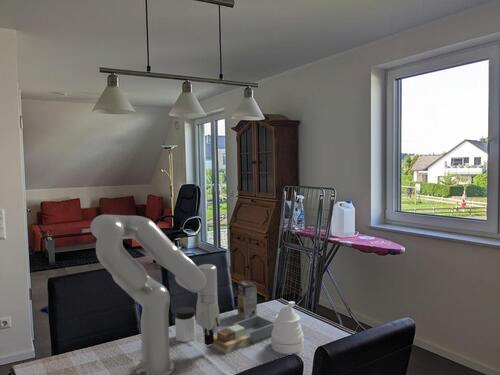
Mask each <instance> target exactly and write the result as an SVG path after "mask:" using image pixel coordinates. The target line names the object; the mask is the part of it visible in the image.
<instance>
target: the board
mask: <svg viewBox="0 0 500 375" xmlns="http://www.w3.org/2000/svg"><path fill="white" fill-rule="evenodd" d="M249 345H251V344H250V336H248V335H246V334H245V335H244V336H242V337H239V338H237V339H234V340H231V341H229V342H226V343H223V342H222V341H220V340H218V339H217V335H214V343H213V344H211V346H212V347H214V348H216V349H217V350H220V351H222V352H223V353H224V354H230V353H232V352H234V351H236V350H239V349H241V348H244V347H246V346H249Z"/></svg>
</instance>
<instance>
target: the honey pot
mask: <svg viewBox="0 0 500 375" xmlns="http://www.w3.org/2000/svg"><path fill="white" fill-rule="evenodd" d="M295 305H296V302H295V301H292V300H290V301H288V304H285V305H283V306H281V308H280V310H279V312H278V314H276V315H275V317H274V320H275V321H274V322H275V324H274V327H273V330H272V333H271V337H270V342H271V343H270V347H271V349H272V350H273V351H275V352H277V353H279V354H284V355H293V353H294V354H298V353H300V352H302V351H303V350H304V343H305V342H304V336H305V335H304V332H303V328H302V326H301V323H300V321H301V317H300V316H301V315H299V314H297V313H296V312H295V310H294V309H293V308H294V306H295Z"/></svg>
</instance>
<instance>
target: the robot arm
mask: <svg viewBox="0 0 500 375" xmlns="http://www.w3.org/2000/svg"><path fill="white" fill-rule="evenodd" d="M90 231H91V234H92V236H94V237H95V238H96V242H95V253H96V257H97V260H98V261H99V263H100V264H101V265H102V266H103V267H104V268H105V270H106V271H107V272H108V273H110V274H111V276H112V279H113V281H114V282H115V283H116V284H117V285H118V286H119V287H120V288H121V289H122V290H123V291H124V292H125V293H127V294H128V296H130V298H132V300H134V301H135V302H137V304H139V305H140V306H141V309H142V310H141V316H140V333H141V335H140V336H141V337H140V338H141V359H139V363H137V365H133V366H132V367H129V368H128V372H129V374H134V373H135V374H136V375H171V374H172V373H174V371H175V363H174V362H173V361H171V359H170V358H171V356H170V354H171V352H170V351H171V350H170V327H169V326H170V325H169V324H170V323H169V310H170V304H171V303H170V302H171V296H170V292H169V290H168V289H167V287H166V286H165V285H163V284H161V283H160V282H158V281H156V280H155V279H153V278H152V277H151V276H150V275H148V272H147V270H146V269H145V267H144V265H142V264H141V263H139V262H138V261H137V259H135V258H134V257H133V256H132V255H131V254H130V253H129V252H128V250H126V248H125V246H124V245H123V244H124V243H123V242H124V240H125V239H127V240H128V239H130V240H131V239H132V240H135V241H136V243H138V244H139V246H141V248H142V249H144V250H145V251H146V253H148V255H149V256H150V257H151V258H152V259H153V260H154V261H155V262H157V263H158V265H160V266H161V267H163V268H164V269H166V270H168V271H169V272H171V273H172V274H173V275H174V279H175V282H176V283H177V284H178V285H179V286H180V287H182V288H184V289H186V290H187V291H189V292H191V293H197V301H196V307H195V308H196V309H195V324H197V325H199V326H200V327H201V328H202V333H203V334H204V335H203V337H204V341H203V342H204V345H206V346H209V345H212V344H213V343H214V337H215V335H214V334H217V332H218V331H219V329H218V328H220V325H221V324H220V323H221V319H220V317H221V316H220V307H219V302H218V297H219V296H218V275H217V274H218V271H217V270H218V269H217V266H216V265H215V264H211V263H205V264H204V263H203V264H200V265H196V263H195V262H193V260H192V259H190V258H189V256H187V255H186V254H185V253H184V252H183V251H182V250H181V249H180V248H179V247H178V246H177V245H176V244H174V243H173V241H171V240H170V238H168V236H167V235H166V234H165V232H163V231H162V229H160V227H159V226H158V224H156V223H155V222H153V220H151V219H150V218H147V217H145V216H140V215H123V214H122V215H121V214H100V215H98V216H96V217H94V219H93V220H92V221H91V223H90Z"/></svg>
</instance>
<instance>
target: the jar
mask: <svg viewBox="0 0 500 375" xmlns="http://www.w3.org/2000/svg"><path fill="white" fill-rule="evenodd" d="M174 312H175V313H174V314H175V319H174V322H175V341H176V342H177V341H178V342H183V343H186V342H191V341H194V340H195V339H196V334H197V332H196V330H197V329H196V309H195V307H192V306H181V307H178V308H176V309H175V311H174Z"/></svg>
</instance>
